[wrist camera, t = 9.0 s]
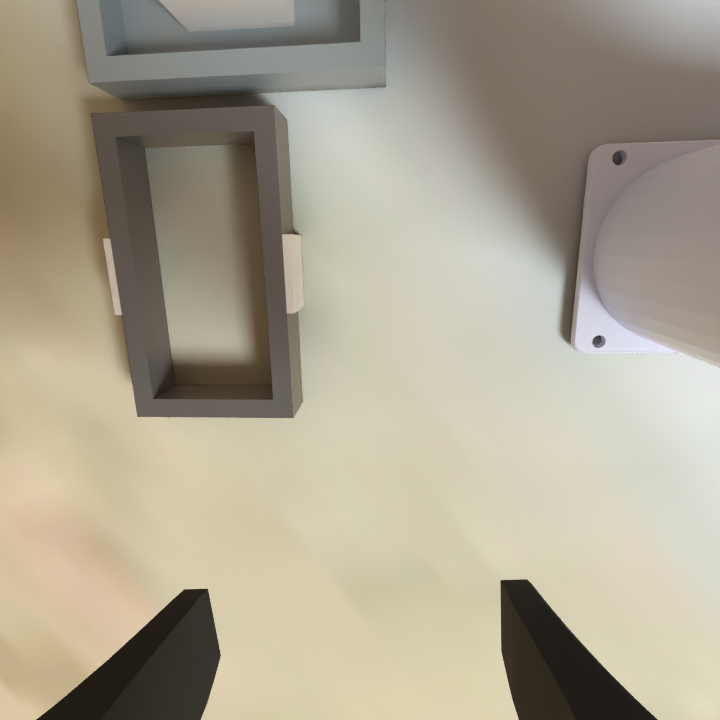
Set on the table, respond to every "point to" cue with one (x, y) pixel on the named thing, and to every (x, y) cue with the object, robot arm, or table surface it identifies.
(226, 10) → the beige teal carton
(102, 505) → the table surface
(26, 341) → the table surface
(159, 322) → the frame
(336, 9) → the tray
